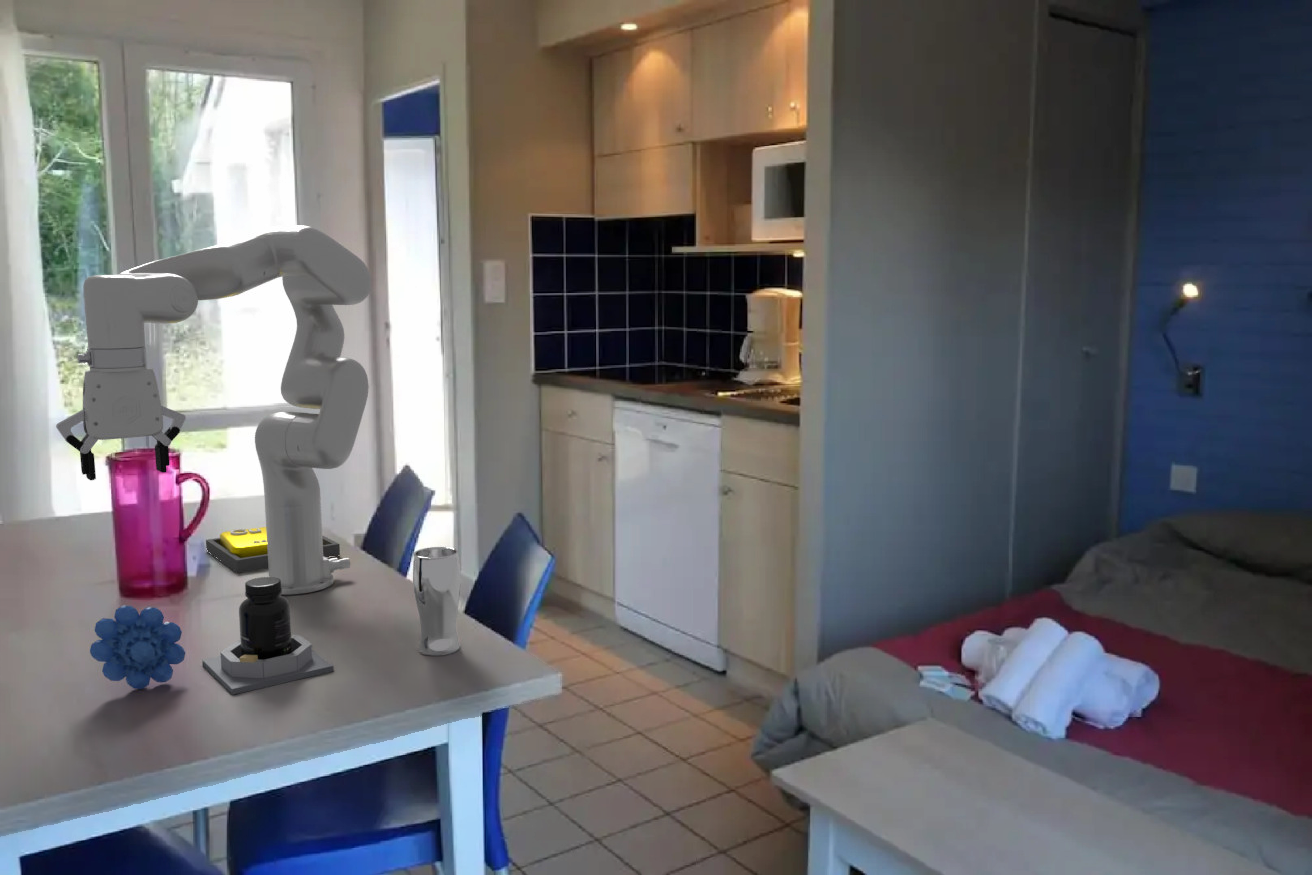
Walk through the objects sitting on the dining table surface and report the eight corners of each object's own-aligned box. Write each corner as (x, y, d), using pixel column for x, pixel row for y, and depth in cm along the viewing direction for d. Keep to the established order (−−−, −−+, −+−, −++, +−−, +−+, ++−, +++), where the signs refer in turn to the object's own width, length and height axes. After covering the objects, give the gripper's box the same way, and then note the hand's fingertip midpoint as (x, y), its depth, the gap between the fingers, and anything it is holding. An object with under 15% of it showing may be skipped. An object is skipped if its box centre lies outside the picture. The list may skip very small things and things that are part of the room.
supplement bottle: (232, 668, 152) (226, 586, 150) (258, 652, 158) (254, 573, 156) (276, 672, 150) (271, 589, 148) (301, 655, 157) (297, 575, 155)
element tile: (233, 570, 206) (231, 545, 206) (219, 552, 219) (217, 529, 218) (312, 559, 214) (311, 535, 214) (294, 543, 227) (293, 520, 226)
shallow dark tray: (303, 536, 230) (303, 525, 230) (339, 556, 215) (339, 543, 214) (206, 551, 218) (205, 539, 218) (237, 573, 203) (236, 560, 202)
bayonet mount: (298, 644, 164) (297, 621, 163) (333, 671, 153) (332, 646, 152) (202, 665, 155) (200, 641, 155) (232, 694, 144) (231, 669, 144)
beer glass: (422, 660, 157) (419, 560, 155) (410, 645, 163) (406, 549, 161) (468, 652, 160) (465, 554, 158) (454, 638, 166) (451, 544, 164)
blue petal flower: (99, 709, 140) (91, 620, 138) (91, 692, 145) (83, 607, 143) (194, 688, 146) (188, 604, 144) (183, 673, 152) (177, 591, 150)
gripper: (56, 365, 149) (66, 486, 152) (187, 358, 160) (195, 472, 162) (46, 361, 155) (56, 478, 157) (173, 355, 165) (181, 465, 168)
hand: (126, 475), depth 160 cm, fingers open, 9 cm apart
